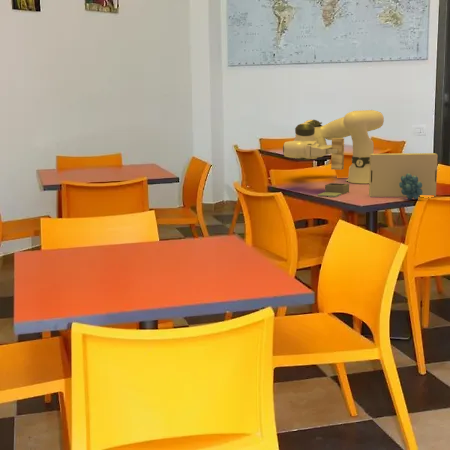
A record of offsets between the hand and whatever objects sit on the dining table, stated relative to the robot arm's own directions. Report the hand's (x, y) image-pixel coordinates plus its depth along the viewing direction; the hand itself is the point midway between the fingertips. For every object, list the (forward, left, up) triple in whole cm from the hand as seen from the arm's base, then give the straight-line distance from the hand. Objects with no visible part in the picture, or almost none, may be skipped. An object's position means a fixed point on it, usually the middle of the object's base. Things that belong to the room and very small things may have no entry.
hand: (339, 150), depth 331 cm
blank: (0, -1, -9) cm, 9 cm away
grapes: (+9, +37, -21) cm, 44 cm away
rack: (0, -1, -21) cm, 21 cm away
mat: (+11, -1, -21) cm, 23 cm away
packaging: (-1, +31, -21) cm, 38 cm away
